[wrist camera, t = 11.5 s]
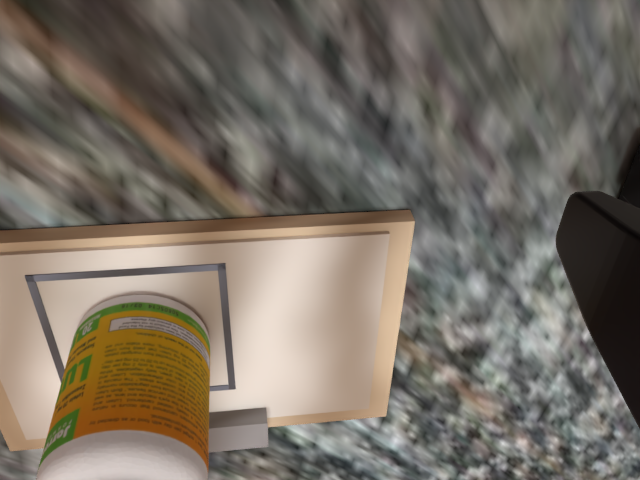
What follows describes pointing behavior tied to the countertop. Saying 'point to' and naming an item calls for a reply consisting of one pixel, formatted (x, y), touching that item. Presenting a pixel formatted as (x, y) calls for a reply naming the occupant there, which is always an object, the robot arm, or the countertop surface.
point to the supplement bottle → (133, 396)
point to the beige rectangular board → (218, 313)
